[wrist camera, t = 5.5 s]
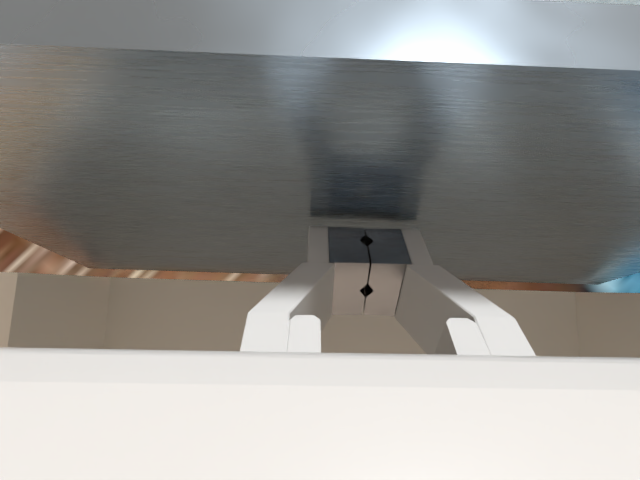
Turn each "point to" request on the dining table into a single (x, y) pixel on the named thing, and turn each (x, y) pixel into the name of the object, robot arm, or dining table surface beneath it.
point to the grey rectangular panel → (324, 132)
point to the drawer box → (240, 297)
